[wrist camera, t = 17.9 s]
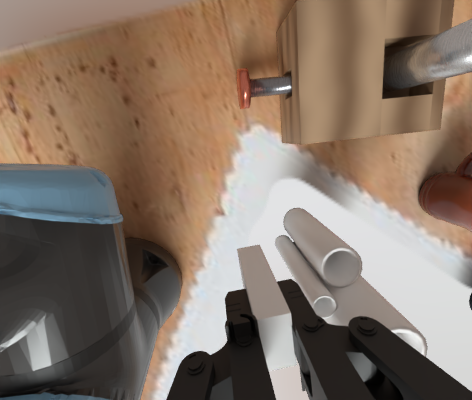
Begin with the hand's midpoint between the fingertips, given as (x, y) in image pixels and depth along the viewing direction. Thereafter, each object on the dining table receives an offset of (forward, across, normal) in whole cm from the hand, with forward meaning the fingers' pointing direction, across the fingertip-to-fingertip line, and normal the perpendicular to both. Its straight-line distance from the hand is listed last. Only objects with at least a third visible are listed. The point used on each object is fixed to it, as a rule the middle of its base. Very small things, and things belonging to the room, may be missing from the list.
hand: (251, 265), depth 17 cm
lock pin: (+20, +10, +13) cm, 25 cm away
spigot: (+17, +22, +12) cm, 30 cm away
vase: (+22, +10, -10) cm, 26 cm away
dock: (+21, +18, +12) cm, 31 cm away
